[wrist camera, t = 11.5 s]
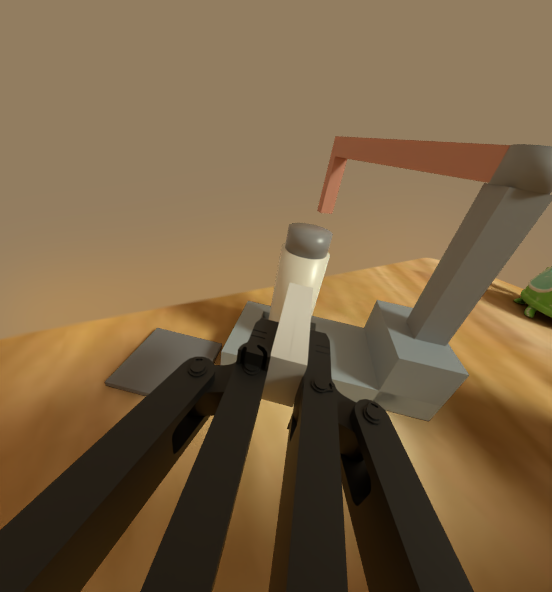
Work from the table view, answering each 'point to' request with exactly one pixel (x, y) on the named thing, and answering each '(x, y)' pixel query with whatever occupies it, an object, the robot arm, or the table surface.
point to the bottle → (301, 263)
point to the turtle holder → (538, 294)
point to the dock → (420, 314)
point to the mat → (159, 360)
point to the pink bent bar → (444, 162)
